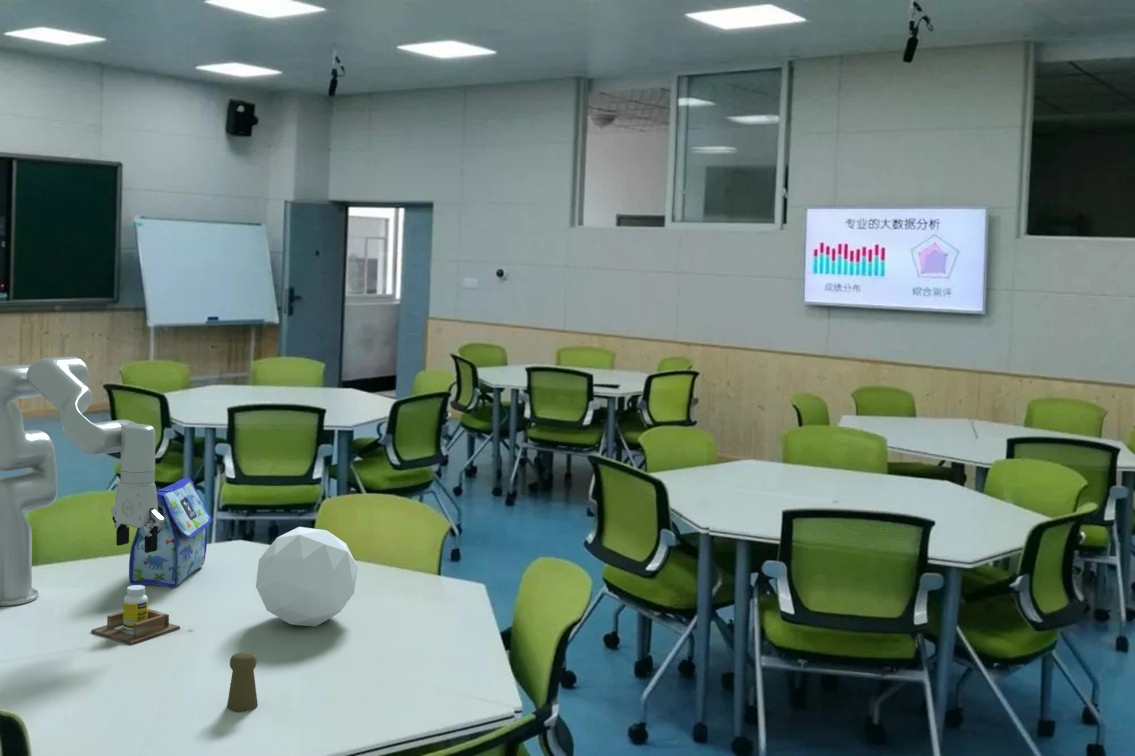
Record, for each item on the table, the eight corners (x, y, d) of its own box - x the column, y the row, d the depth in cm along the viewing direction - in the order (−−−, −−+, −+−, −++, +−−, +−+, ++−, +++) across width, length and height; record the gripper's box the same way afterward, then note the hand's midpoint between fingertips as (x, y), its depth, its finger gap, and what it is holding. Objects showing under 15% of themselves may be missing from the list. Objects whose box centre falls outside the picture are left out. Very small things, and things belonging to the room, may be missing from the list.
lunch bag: (186, 589, 295) (188, 494, 292) (124, 586, 295) (125, 491, 292) (214, 566, 317) (215, 478, 314) (157, 563, 317) (158, 474, 314)
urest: (91, 632, 259) (91, 617, 259) (140, 617, 271) (140, 602, 271) (131, 644, 252) (131, 629, 252) (179, 628, 265) (180, 614, 264)
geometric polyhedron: (305, 645, 282) (335, 555, 294) (357, 637, 264) (387, 542, 277) (224, 611, 269) (259, 519, 282) (273, 600, 252) (309, 502, 264)
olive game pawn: (230, 700, 225) (231, 648, 224) (260, 700, 225) (261, 648, 224) (223, 712, 219) (224, 658, 218) (254, 712, 219) (255, 659, 218)
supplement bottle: (139, 632, 259) (139, 591, 258) (118, 629, 260) (118, 589, 259) (152, 624, 264) (152, 585, 263) (131, 622, 265) (132, 582, 264)
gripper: (99, 474, 259) (98, 544, 261) (150, 485, 251) (148, 558, 252) (126, 469, 265) (125, 538, 267) (176, 480, 257) (174, 551, 259)
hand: (136, 548), depth 260 cm, fingers open, 9 cm apart
